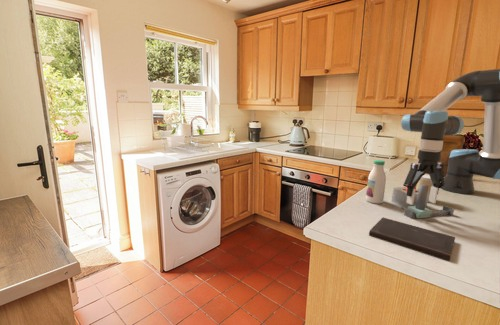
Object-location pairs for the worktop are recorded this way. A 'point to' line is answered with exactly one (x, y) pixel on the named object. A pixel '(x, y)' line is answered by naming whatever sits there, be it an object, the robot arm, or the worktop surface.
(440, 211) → the rail
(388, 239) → the hardcover book
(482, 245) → the worktop surface
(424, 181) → the coffee cup
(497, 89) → the robot arm
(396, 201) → the grey block with hole
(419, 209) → the carriage
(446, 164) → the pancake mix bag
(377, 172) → the milk bottle
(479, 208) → the worktop surface
